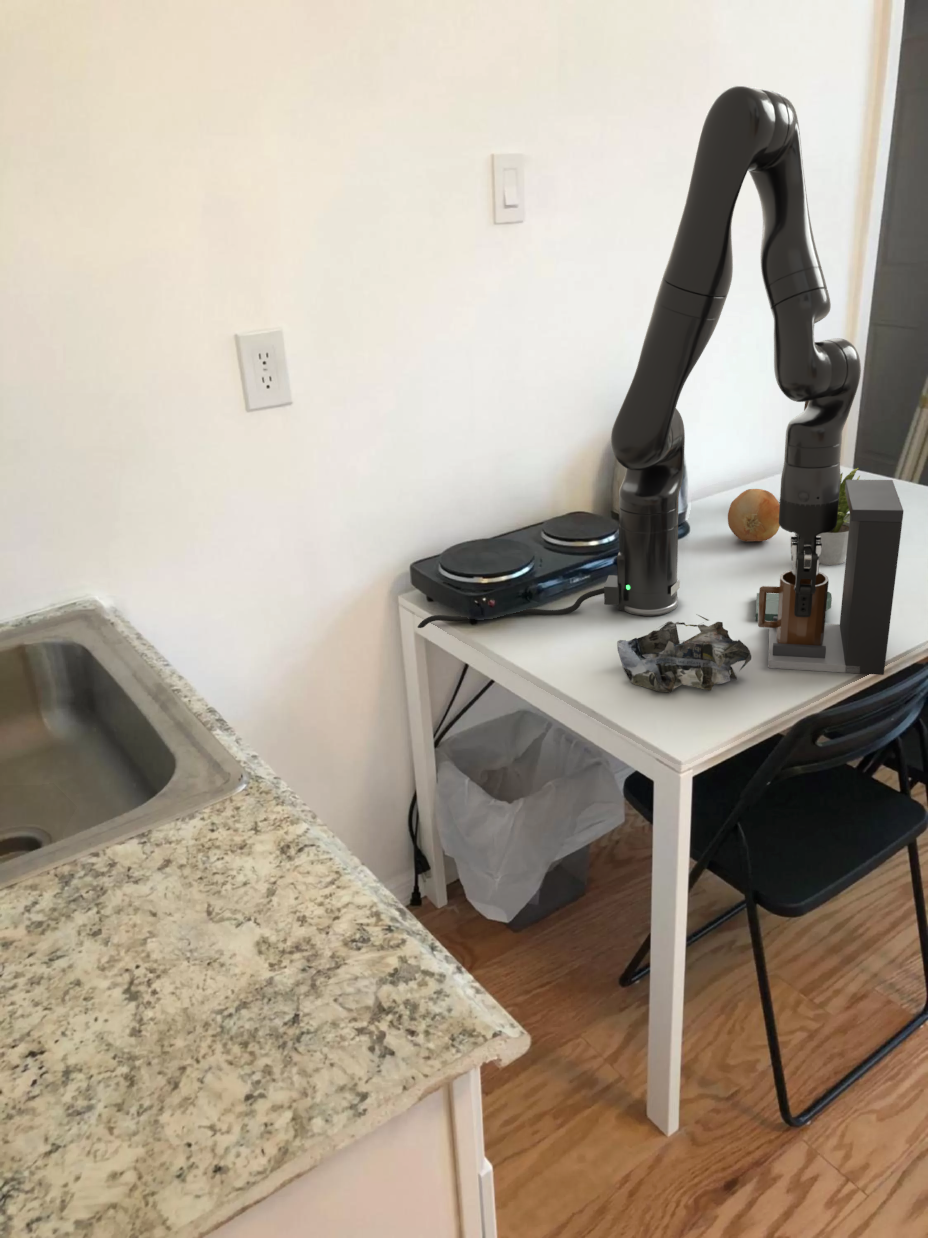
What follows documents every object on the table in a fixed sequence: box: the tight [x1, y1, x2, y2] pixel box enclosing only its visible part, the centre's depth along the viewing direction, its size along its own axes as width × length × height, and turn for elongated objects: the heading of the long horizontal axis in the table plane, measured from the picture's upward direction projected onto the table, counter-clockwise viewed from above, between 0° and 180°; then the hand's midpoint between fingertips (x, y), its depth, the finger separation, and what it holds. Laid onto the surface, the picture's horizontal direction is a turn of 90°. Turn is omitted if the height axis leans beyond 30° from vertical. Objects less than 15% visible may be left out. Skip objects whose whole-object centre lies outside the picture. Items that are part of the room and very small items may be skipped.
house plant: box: [817, 467, 861, 566], centre depth 162 cm, size 14×14×16 cm
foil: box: [616, 614, 752, 693], centre depth 130 cm, size 12×11×15 cm
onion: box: [727, 488, 781, 542], centre depth 174 cm, size 10×10×10 cm
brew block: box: [755, 591, 833, 621], centre depth 147 cm, size 11×8×3 cm
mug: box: [757, 569, 829, 646], centre depth 134 cm, size 9×6×10 cm
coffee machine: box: [767, 479, 904, 676], centre depth 130 cm, size 15×13×24 cm
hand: (801, 605), depth 133 cm, fingers closed on mug, 6 cm apart
